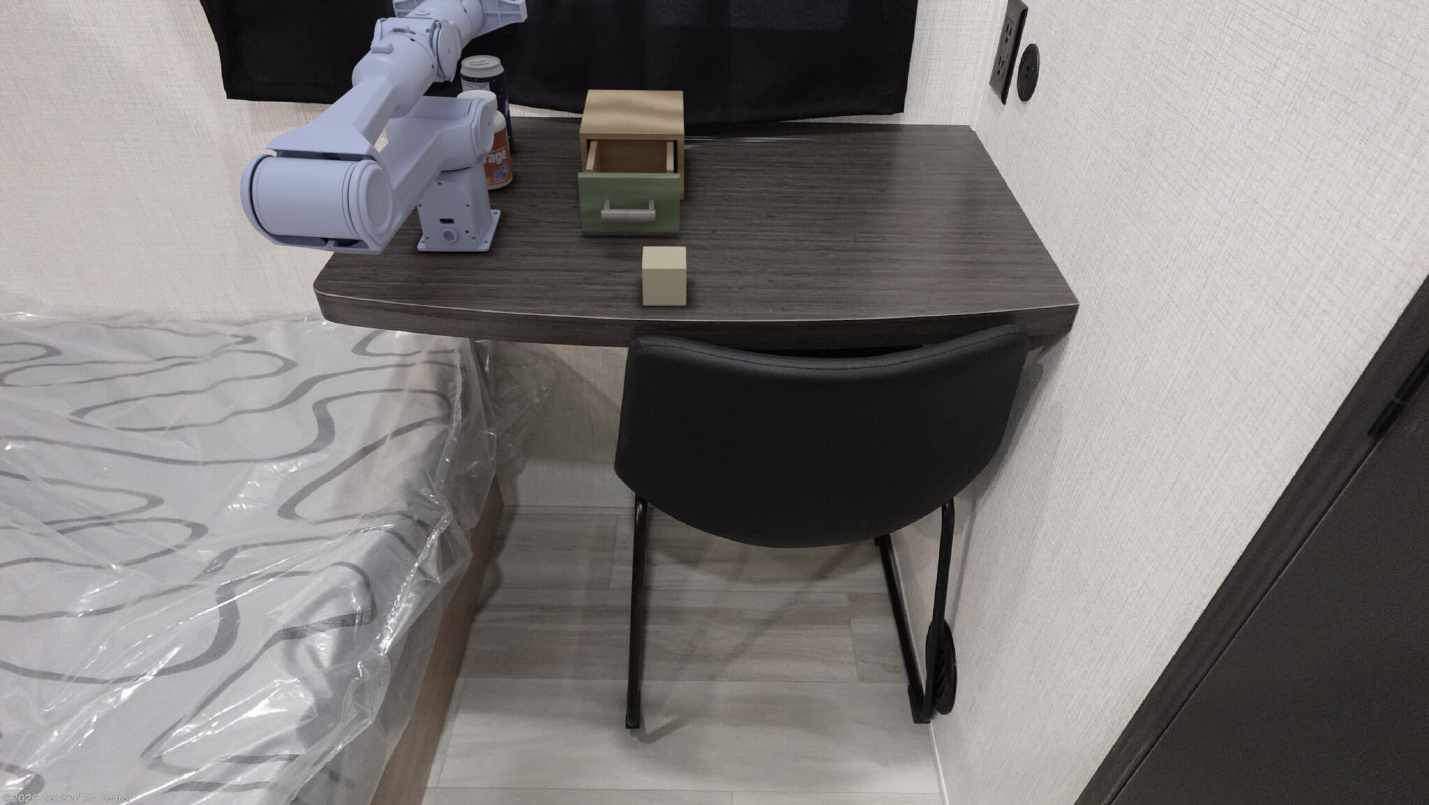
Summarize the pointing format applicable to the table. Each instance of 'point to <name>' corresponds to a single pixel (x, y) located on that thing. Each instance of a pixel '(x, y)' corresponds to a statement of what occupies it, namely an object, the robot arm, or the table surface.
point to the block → (664, 275)
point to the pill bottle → (495, 144)
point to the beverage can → (488, 83)
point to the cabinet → (634, 120)
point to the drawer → (630, 187)
